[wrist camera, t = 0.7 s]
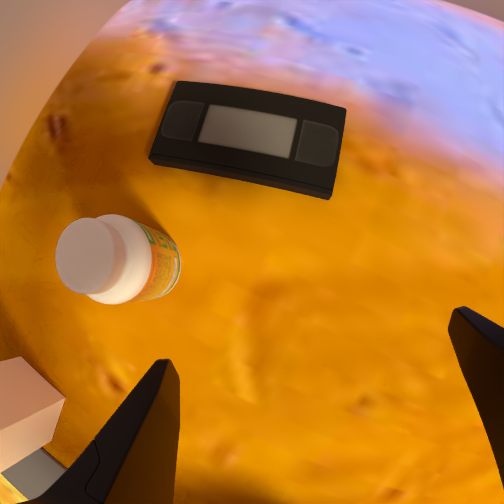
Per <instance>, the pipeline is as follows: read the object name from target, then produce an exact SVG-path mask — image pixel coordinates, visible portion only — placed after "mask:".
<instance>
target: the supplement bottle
mask: <svg viewBox="0 0 504 504" xmlns="http://www.w3.org/2000/svg"><path fill="white" fill-rule="evenodd" d="M55 260H56V268H57V271H58V274H59V277H60V278H61V280H62V282H63V283H64V284H65V285H66V286H67V287H68V288H69V289H70V290H72V291H73V292H76V293H79V294H86V295H88V296H89V297H90V298H92V299H93V300H95V301H97V302H100V303H104V304H122V303H128V302H135V301H143V300H151V299H156V298H159V297H162V296H164V295H165V294H167V293H168V292H169V291H170V290H171V289H172V288H173V287H174V286H175V284H176V283H177V281H178V278H179V276H180V272H181V257H180V253H179V250H178V248H177V246H176V244H175V243H174V242H173V241H172V239H171V238H169V237H168V236H167V235H165V234H164V233H162V232H160V231H157V230H155V229H153V228H150V227H148V226H146V225H144V224H141V223H139V222H137V221H134V220H132V219H130V218H128V217H124V216H121V215H117V214H108V215H103V216H100V217H97V218H95V219H94V218H81V219H78V220H76V221H74V222H72V223H71V224H70V225H69V226H68V227H67V228H66V229H65V230H64V231H63V233H62V234H61V236H60V238H59V241H58V243H57V247H56V254H55Z"/></svg>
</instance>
